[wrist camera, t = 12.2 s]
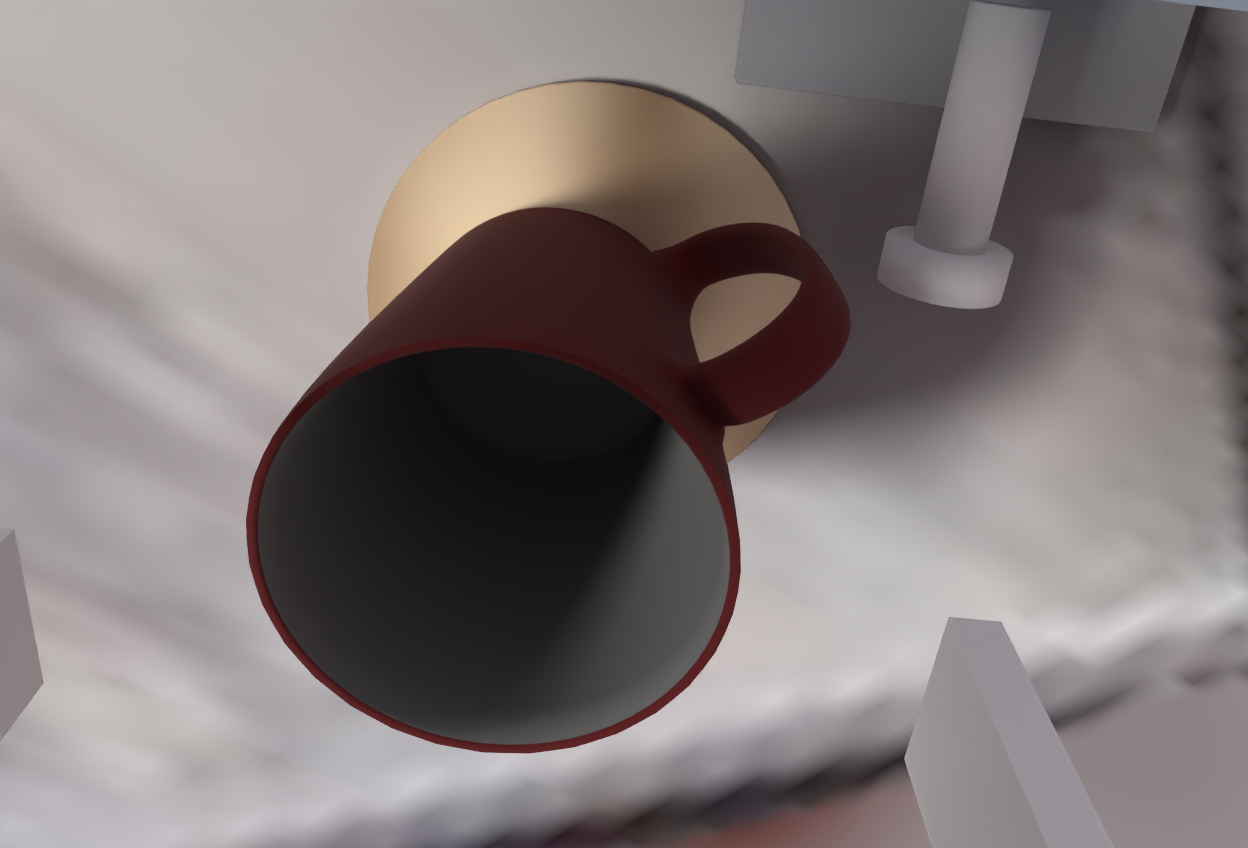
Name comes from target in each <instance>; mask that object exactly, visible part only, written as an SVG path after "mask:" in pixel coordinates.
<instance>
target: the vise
mask: <svg viewBox="0 0 1248 848" xmlns="http://www.w3.org/2000/svg"><path fill="white" fill-rule="evenodd" d="M1196 5H1198V6H1206V7H1215V8H1223V9H1231V10H1239V11H1247V12H1248V0H746V3H745V10H744V17H743V23H742V30H741V37H740V43H739V50H738V57H737V63H736V70H735V78H736V81H737V83H738V84H746V85H755V86H763V87H771V88H780V89H788V90H797V91H805V92H813V93H822V94H830V95H838V96H847V97H855V98H864V99H872V100H880V101H889V102H897V103H905V104H914V105H922V106H931V107H939V108H944V111H943V115H942V119H941V124H940V128H939V132H938V136H937V140H936V144H935V149H934V153H933V157H932V161H931V165H930V169H929V174H928V178H927V182H926V186H925V190H924V194H923V199H922V203H921V207H920V211H919V215H918V219H917V224H916V226H900V227H895V228H892V229H889V230H888V231H887V233H886V237H885V241H884V246H883V250H882V254H881V259H880V263H879V268H878V272H877V279H878V281H879V282H880V283H881V284H882V285H884V286H885V287H887V288H888V289H890V290H892V291H894V292H896V293H898V294H901V295H903V296H906V297H909V298H912V299H915V300H918V301H922V302H926V303H930V304H934V305H940V306H945V307H953V308H964V309H981V308H989V307H993V306H996V305H998V304H999V303H1000V302H1001V300H1002V296H1003V293H1004V289H1005V286H1006V282H1007V279H1008V275H1009V272H1010V268H1011V265H1012V261H1013V257H1014V256H1013V253H1012V252H1011V251H1010V250H1009V249H1007V248H1006V247H1004V246H1002V245H1000V244H998V243H996V242H994V241H991V240H989V238H990V234H991V231H992V227H993V223H994V220H995V216H996V212H997V209H998V205H999V201H1000V198H1001V194H1002V190H1003V187H1004V183H1005V179H1006V176H1007V172H1008V168H1009V165H1010V161H1011V157H1012V154H1013V150H1014V146H1015V143H1016V139H1017V135H1018V132H1019V128H1020V124H1021V121H1022V117H1023V118H1031V119H1039V120H1048V121H1056V122H1065V123H1073V124H1081V125H1090V126H1098V127H1106V128H1115V129H1123V130H1132V131H1140V132H1148V133H1154V131H1155V128H1156V125H1157V122H1158V119H1159V116H1160V113H1161V110H1162V107H1163V104H1164V101H1165V98H1166V95H1167V92H1168V89H1169V86H1170V83H1171V80H1172V77H1173V74H1174V71H1175V68H1176V65H1177V62H1178V59H1179V56H1180V53H1181V50H1182V47H1183V44H1184V41H1185V38H1186V35H1187V32H1188V29H1189V26H1190V23H1191V20H1192V17H1193V13H1194V10H1195V7H1196Z"/></svg>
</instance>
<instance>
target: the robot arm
mask: <svg viewBox="0 0 1248 848" xmlns="http://www.w3.org/2000/svg"><path fill="white" fill-rule="evenodd" d="M42 684H43V678H42V672H41V667H40V662H39V657H38V651H37V646H36V641H35V636H34V630H33V625H32V620H31V615H30V610H29V604H28V599H27V594H26V589H25V583H24V578H23V573H22V568H21V562H20V557H19V552H18V547H17V541H16V536H15V531H14V529H8V528H0V741H1V740H2V738H3V737H4V736H5V734H6V733H7V732H8V730H9V729H10V727H11V726H12V725H13V723H14V722H15V721H16V719H17V718H18V717H19V715H20V714H21V713H22V711H23V710H24V709H25V707H26V706H27V705H28V703H29V702H30V701H31V699H32V698H33V696H34V695H35V694H36V692H37V691H38V690H39V688H40V687H41V686H42ZM904 760H905V763H906V766H907V769H908V772H909V776H910V779H911V782H912V785H913V789H914V792H915V795H916V798H917V801H918V805H919V808H920V811H921V814H922V818H923V821H924V824H925V827H926V831H927V834H928V837H929V840H930V844H931V847H932V848H1114V847H1113V845H1112V843H1111V841H1110V839H1109V837H1108V835H1107V833H1106V831H1105V829H1104V827H1103V825H1102V823H1101V821H1100V819H1099V817H1098V815H1097V813H1096V811H1095V809H1094V807H1093V805H1092V803H1091V801H1090V799H1089V797H1088V795H1087V793H1086V791H1085V789H1084V787H1083V785H1082V783H1081V781H1080V779H1079V777H1078V775H1077V773H1076V771H1075V769H1074V767H1073V765H1072V763H1071V761H1070V759H1069V757H1068V755H1067V753H1066V751H1065V749H1064V747H1063V745H1062V743H1061V741H1060V739H1059V737H1058V735H1057V733H1056V731H1055V729H1054V727H1053V725H1052V723H1051V721H1050V719H1049V717H1048V715H1047V713H1046V711H1045V709H1044V707H1043V705H1042V703H1041V701H1040V699H1039V697H1038V695H1037V693H1036V691H1035V689H1034V687H1033V685H1032V683H1031V681H1030V679H1029V677H1028V675H1027V673H1026V671H1025V669H1024V667H1023V664H1022V662H1021V660H1020V658H1019V656H1018V654H1017V652H1016V650H1015V648H1014V646H1013V644H1012V642H1011V640H1010V638H1009V636H1008V634H1007V632H1006V630H1005V628H1004V626H1003V624H1002V622H996V621H986V620H975V619H965V618H954V617H949V618H948V621H947V625H946V628H945V631H944V634H943V637H942V640H941V644H940V647H939V650H938V653H937V656H936V660H935V663H934V666H933V669H932V672H931V675H930V679H929V682H928V685H927V688H926V691H925V694H924V698H923V701H922V704H921V707H920V710H919V714H918V717H917V720H916V723H915V726H914V729H913V733H912V736H911V739H910V742H909V745H908V749H907V752H906V755H905V758H904Z"/></svg>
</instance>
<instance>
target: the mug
mask: <svg viewBox="0 0 1248 848" xmlns="http://www.w3.org/2000/svg"><path fill="white" fill-rule="evenodd" d="M758 273H771V274H779V275H784V276H788V277H791V278H794V279H796V280H799V281H801V284H800V288H799V290H798V292H797V293H796V295H795V297H794V298H793V300H792V301H791V302H790V303H789V305H788V306H787V307H786V308H785V309H784V310H783V311H782V312H781V313H780V314H779V315H778V316H777V317H776V318H775V319H774V320H773V321H772V322H770V323H769V324H768V325H767V326H766V327H764V328H763V329H762V330H760V331H759V332H758V333H756V334H755V335H753V336H752V337H751V338H749V339H748V340H746V341H744V342H743V343H741V344H740V345H738V346H736V347H734V348H733V349H731V350H729V351H727V352H725V353H723V354H721V355H719V356H717V357H715V358H713V359H710V360H707V361H704V362H701V363H700V361H699V358H698V355H697V351H696V348H695V344H694V340H693V337H692V333H691V325H690V317H691V312H692V308H693V306H694V303H695V300H696V299H697V297H698V296H699V294H700V293H701V291H702V290H704V289H705V288H706V287H708V286H709V285H711V284H714V283H717V282H719V281H722V280H726V279H729V278H733V277H738V276H742V275H749V274H758ZM850 322H851V321H850V315H849V308H848V305H847V302H846V299H845V297H844V295H843V292H842V291H841V289H840V287H839V285H838V284H837V282H836V280H835V279H834V277H833V275H832V274H831V272H830V271H829V269H828V268H827V266H826V265H825V264H824V262H823V261H822V259H821V258H820V257H819V255H818V254H817V253H816V252H815V251H814V249H813V248H812V247H811V246H810V245H809V244H808V243H807V242H806V241H805V240H803V239H802V238H801V237H800V236H798V235H797V234H795V233H793V232H792V231H790V230H788V229H786V228H784V227H781V226H778V225H774V224H769V223H758V222H749V223H736V224H730V225H725V226H720V227H716V228H713V229H710V230H706V231H703V232H701V233H698V234H696V235H694V236H692V237H690V238H688V239H686V240H684V241H682V242H680V243H678V244H676V245H673V246H670V247H667V248H664V249H660V250H656V251H653V252H651V251H650V250H649V249H648V248H647V247H646V246H645V245H644V244H642V243H641V242H640V241H639V240H637V239H636V238H635V237H634V236H632V235H631V234H630V233H628V232H627V231H625V230H623V229H622V228H620V227H619V226H617V225H615V224H613V223H611V222H609V221H607V220H605V219H602V218H599V217H597V216H594V215H592V214H588V213H584V212H581V211H577V210H570V209H564V208H551V207H543V208H529V209H522V210H517V211H513V212H509V213H505V214H502V215H499V216H497V217H494V218H492V219H489V220H487V221H485V222H483V223H481V224H480V225H478V226H476V227H475V228H473V229H472V230H470V231H468V232H467V233H466V234H464V235H463V236H462V237H461V238H459V239H458V240H457V241H456V242H455V243H453V244H452V245H451V246H450V247H449V248H448V249H446V250H445V251H444V252H443V253H442V254H441V255H440V256H439V257H438V258H437V259H436V260H435V261H433V262H432V263H431V264H430V265H429V266H428V267H427V268H426V269H425V270H424V271H423V272H422V273H421V274H420V275H419V276H417V277H416V278H415V279H414V280H413V281H412V282H411V283H410V284H409V285H408V286H407V287H406V288H405V289H404V290H403V291H402V292H401V293H400V294H398V295H397V296H396V297H395V298H394V299H393V300H392V301H391V302H390V303H389V304H388V305H387V306H386V307H385V308H384V309H383V310H382V311H381V312H380V313H379V314H378V315H377V316H376V317H375V318H374V319H373V320H372V321H371V322H370V323H369V324H368V325H367V326H366V327H365V328H364V329H363V330H362V331H361V332H360V333H359V334H358V335H357V336H356V337H355V338H354V339H353V340H352V341H351V342H350V343H349V344H348V346H347V347H346V348H345V349H344V350H343V351H342V352H341V353H340V354H339V355H338V356H337V357H336V358H335V359H334V360H333V361H332V362H331V363H330V364H329V366H328V367H327V368H326V369H325V370H324V371H323V372H322V374H321V375H320V376H319V377H318V378H317V379H316V381H315V382H314V383H313V384H312V385H311V386H310V387H309V389H308V390H307V391H306V392H305V394H304V395H303V396H302V397H301V399H300V400H299V401H298V402H297V404H296V405H295V406H294V408H293V409H292V410H291V412H290V413H289V414H288V416H287V417H286V418H285V420H284V421H283V422H282V424H281V425H280V427H279V428H278V430H277V431H276V433H275V434H274V435H273V437H272V439H271V441H270V443H269V445H268V447H267V448H266V450H265V452H264V454H263V456H262V459H261V461H260V463H259V466H258V468H257V471H256V473H255V475H254V479H253V483H252V488H251V492H250V496H249V503H248V510H247V517H246V529H247V546H248V556H249V564H250V567H251V571H252V574H253V578H254V581H255V585H256V587H257V590H258V593H259V596H260V599H261V602H262V605H263V607H264V608H265V610H266V612H267V614H268V616H269V617H270V619H271V621H272V623H273V625H274V626H275V628H276V630H277V631H278V633H279V634H280V636H281V638H282V639H283V641H284V643H285V644H286V645H287V646H288V648H289V649H290V650H291V651H292V652H293V653H294V655H295V656H296V657H297V658H298V659H299V660H300V661H301V663H302V664H303V665H304V666H305V667H306V668H307V669H308V670H309V671H310V673H311V674H312V675H313V676H314V677H315V678H316V679H318V680H319V681H320V682H321V683H323V684H324V685H325V686H326V687H328V688H329V689H330V690H331V691H333V692H334V693H335V694H336V695H338V696H339V697H340V698H342V699H343V700H344V701H345V702H347V703H348V704H349V705H351V706H352V707H354V708H356V709H358V710H359V711H361V712H363V713H365V714H367V715H369V716H370V717H372V718H374V719H376V720H378V721H380V722H382V723H383V724H385V725H387V726H389V727H391V728H393V729H396V730H399V731H401V732H404V733H407V734H410V735H413V736H415V737H418V738H421V739H424V740H427V741H430V742H433V743H436V744H440V745H446V746H451V747H456V748H462V749H467V750H473V751H479V752H492V753H536V752H543V751H551V750H558V749H565V748H572V747H576V746H580V745H583V744H586V743H589V742H593V741H596V740H599V739H602V738H605V737H608V736H611V735H614V734H617V733H619V732H621V731H623V730H625V729H627V728H629V727H631V726H633V725H635V724H637V723H639V722H640V721H642V720H644V719H646V718H648V717H649V716H651V715H653V714H655V713H656V712H658V711H659V710H660V709H662V708H663V707H664V706H665V705H667V704H668V703H669V702H670V701H672V700H673V699H674V698H675V697H676V696H678V695H679V694H680V693H681V692H682V691H683V690H685V689H686V688H687V687H688V686H689V685H690V684H691V683H692V682H693V680H694V679H695V678H696V677H697V676H698V674H699V673H700V672H701V671H702V670H703V668H704V667H705V666H706V664H707V663H708V661H709V660H710V659H711V657H712V656H713V655H714V653H715V652H716V650H717V648H718V646H719V644H720V642H721V640H722V638H723V636H724V634H725V632H726V629H727V627H728V624H729V622H730V620H731V617H732V615H733V611H734V607H735V602H736V598H737V594H738V587H739V580H740V573H741V566H740V538H739V531H738V523H737V516H736V509H735V503H734V496H733V491H732V485H731V480H730V475H729V470H728V465H727V461H726V457H725V453H724V449H723V440H724V436H725V427H726V426H736V425H742V424H746V423H749V422H752V421H755V420H757V419H760V418H762V417H764V416H766V415H768V414H770V413H772V412H774V411H776V410H778V409H780V408H782V407H783V406H785V405H787V404H788V403H790V402H792V401H793V400H795V399H796V398H798V397H799V396H800V395H802V394H803V393H805V392H806V391H807V390H808V389H810V388H811V387H812V386H813V385H814V384H816V383H817V382H818V381H819V380H820V379H821V378H822V377H823V376H824V375H825V374H826V373H827V372H828V371H829V370H830V368H831V367H832V366H833V365H834V363H835V362H836V361H837V359H838V358H839V356H840V354H841V353H842V351H843V349H844V347H845V345H846V342H847V340H848V337H849V333H850Z"/></svg>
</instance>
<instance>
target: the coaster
mask: <svg viewBox="0 0 1248 848" xmlns="http://www.w3.org/2000/svg"><path fill="white" fill-rule="evenodd" d="M543 207H551V208H564V209H570V210H577V211H581V212H584V213H588V214H592V215H594V216H597V217H599V218H602V219H605V220H607V221H609V222H611V223H613V224H615V225H617V226H619V227H620V228H622V229H623V230H625V231H627V232H628V233H630V234H631V235H632V236H634V237H635V238H636V239H637V240H639V241H640V242H641V243H642V244H644V245H645V246H646V247H647V248H648V249H649V250H650V251H651V252H653V251H656V250H660V249H664V248H667V247H670V246H673V245H676V244H678V243H680V242H682V241H684V240H686V239H688V238H690V237H692V236H694V235H696V234H698V233H701V232H703V231H706V230H710V229H713V228H716V227H720V226H725V225H730V224H736V223H749V222H758V223H769V224H774V225H778V226H781V227H784V228H786V229H788V230H790V231H792V232H793V233H795V234H797V235H798V236H800V237H801V235H800V232H799V229H798V226H797V224H796V222H795V219H794V217H793V215H792V213H791V211H790V208H789V206H788V204H787V202H786V200H785V198H784V196H783V195H782V193H781V191H780V190H779V188H778V187H777V185H776V184H775V182H774V180H773V179H772V177H771V176H770V174H769V173H768V171H767V170H766V169H765V168H764V167H763V166H762V164H761V163H760V162H759V161H758V160H757V159H756V157H755V156H754V155H753V154H752V153H751V151H750V150H749V149H748V148H746V147H745V146H744V145H743V144H742V143H741V142H740V141H739V140H737V139H736V138H735V137H734V136H733V135H732V134H731V133H730V132H729V131H727V130H726V129H725V128H723V127H722V126H720V125H719V124H717V123H716V122H714V121H713V120H711V119H710V118H708V117H707V116H705V115H704V114H702V113H701V112H699V111H697V110H695V109H693V108H691V107H689V106H687V105H685V104H683V103H681V102H679V101H677V100H675V99H673V98H670V97H667V96H664V95H661V94H658V93H655V92H652V91H649V90H646V89H643V88H637V87H632V86H627V85H621V84H616V83H608V82H588V81H576V82H564V83H552V84H546V85H542V86H537V87H533V88H528V89H524V90H520V91H517V92H514V93H511V94H509V95H506V96H503V97H501V98H498V99H496V100H493V101H490V102H488V103H487V104H485V105H483V106H481V107H479V108H478V109H476V110H474V111H472V112H470V113H468V114H467V115H465V116H463V117H462V118H460V119H459V120H458V121H456V122H455V123H454V124H452V125H451V126H450V127H449V128H447V129H446V130H445V131H443V132H442V133H441V134H439V135H438V136H437V137H436V138H435V139H434V140H433V141H432V142H431V143H430V144H429V145H428V146H427V147H426V148H425V149H424V150H423V151H422V152H421V153H420V154H419V155H418V156H417V157H416V158H415V160H414V161H413V163H412V164H411V165H410V167H409V168H408V169H407V171H406V172H405V173H404V175H403V176H402V177H401V179H400V180H399V181H398V183H397V185H396V187H395V189H394V191H393V192H392V194H391V196H390V198H389V200H388V202H387V204H386V205H385V207H384V210H383V213H382V215H381V218H380V221H379V224H378V226H377V229H376V232H375V235H374V240H373V245H372V249H371V254H370V259H369V269H368V284H367V294H368V308H369V318H370V322H371V321H372V320H373V319H374V318H375V317H376V316H377V315H378V314H379V313H380V312H381V311H382V310H383V309H384V308H385V307H386V306H387V305H388V304H389V303H390V302H391V301H392V300H393V299H394V298H395V297H396V296H397V295H398V294H400V293H401V292H402V291H403V290H404V289H405V288H406V287H407V286H408V285H409V284H410V283H411V282H412V281H413V280H414V279H415V278H416V277H417V276H419V275H420V274H421V273H422V272H423V271H424V270H425V269H426V268H427V267H428V266H429V265H430V264H431V263H432V262H433V261H435V260H436V259H437V258H438V257H439V256H440V255H441V254H442V253H443V252H444V251H445V250H446V249H448V248H449V247H450V246H451V245H452V244H453V243H455V242H456V241H457V240H458V239H459V238H461V237H462V236H463V235H464V234H466V233H467V232H468V231H470V230H472V229H473V228H475V227H476V226H478V225H480V224H481V223H483V222H485V221H487V220H489V219H492V218H494V217H497V216H499V215H502V214H505V213H509V212H513V211H517V210H522V209H529V208H543ZM800 284H801V281H799V280H796V279H794V278H791V277H788V276H784V275H779V274H771V273H758V274H749V275H742V276H738V277H733V278H729V279H726V280H722V281H719V282H717V283H714V284H711V285H709V286H708V287H706V288H705V289H704V290H702V291H701V293H700V294H699V296H698V297H697V299H696V300H695V303H694V306H693V308H692V312H691V317H690V325H691V333H692V337H693V340H694V344H695V348H696V351H697V355H698V358H699V361H700V363H701V362H704V361H707V360H710V359H713V358H715V357H717V356H719V355H721V354H723V353H725V352H727V351H729V350H731V349H733V348H734V347H736V346H738V345H740V344H741V343H743V342H744V341H746V340H748V339H749V338H751V337H752V336H753V335H755V334H756V333H758V332H759V331H760V330H762V329H763V328H764V327H766V326H767V325H768V324H769V323H770V322H772V321H773V320H774V319H775V318H776V317H777V316H778V315H779V314H780V313H781V312H782V311H783V310H784V309H785V308H786V307H787V306H788V305H789V303H790V302H791V301H792V300H793V298H794V297H795V295H796V293H797V292H798V290H799V288H800ZM777 411H778V410H776V411H774V412H772V413H770V414H768V415H766V416H764V417H762V418H760V419H757V420H755V421H752V422H749V423H746V424H742V425H736V426H726V427H725V436H724V440H723V449H724V453H725V457H726V461H727V463H728V462H729V461H730V460H731V459H733V458H734V457H735V456H737V455H738V454H739V453H741V452H742V451H743V450H744V449H745V448H746V447H747V446H748V445H749V444H750V443H751V442H752V441H753V440H754V439H755V438H756V437H757V436H758V435H759V434H760V433H761V432H762V431H763V429H764V428H765V427H766V426H767V424H768V423H769V422H770V420H771V419H772V418H773V417H774V415H775V414H776V413H777Z"/></svg>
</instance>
